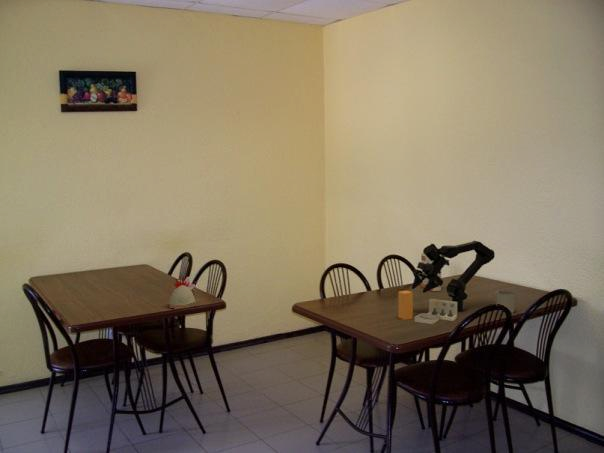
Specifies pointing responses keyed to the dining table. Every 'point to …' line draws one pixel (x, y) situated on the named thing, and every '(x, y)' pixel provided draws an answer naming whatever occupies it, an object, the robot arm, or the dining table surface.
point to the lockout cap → (405, 305)
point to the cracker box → (423, 260)
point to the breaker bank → (443, 309)
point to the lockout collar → (431, 320)
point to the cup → (506, 299)
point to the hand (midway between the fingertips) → (417, 290)
